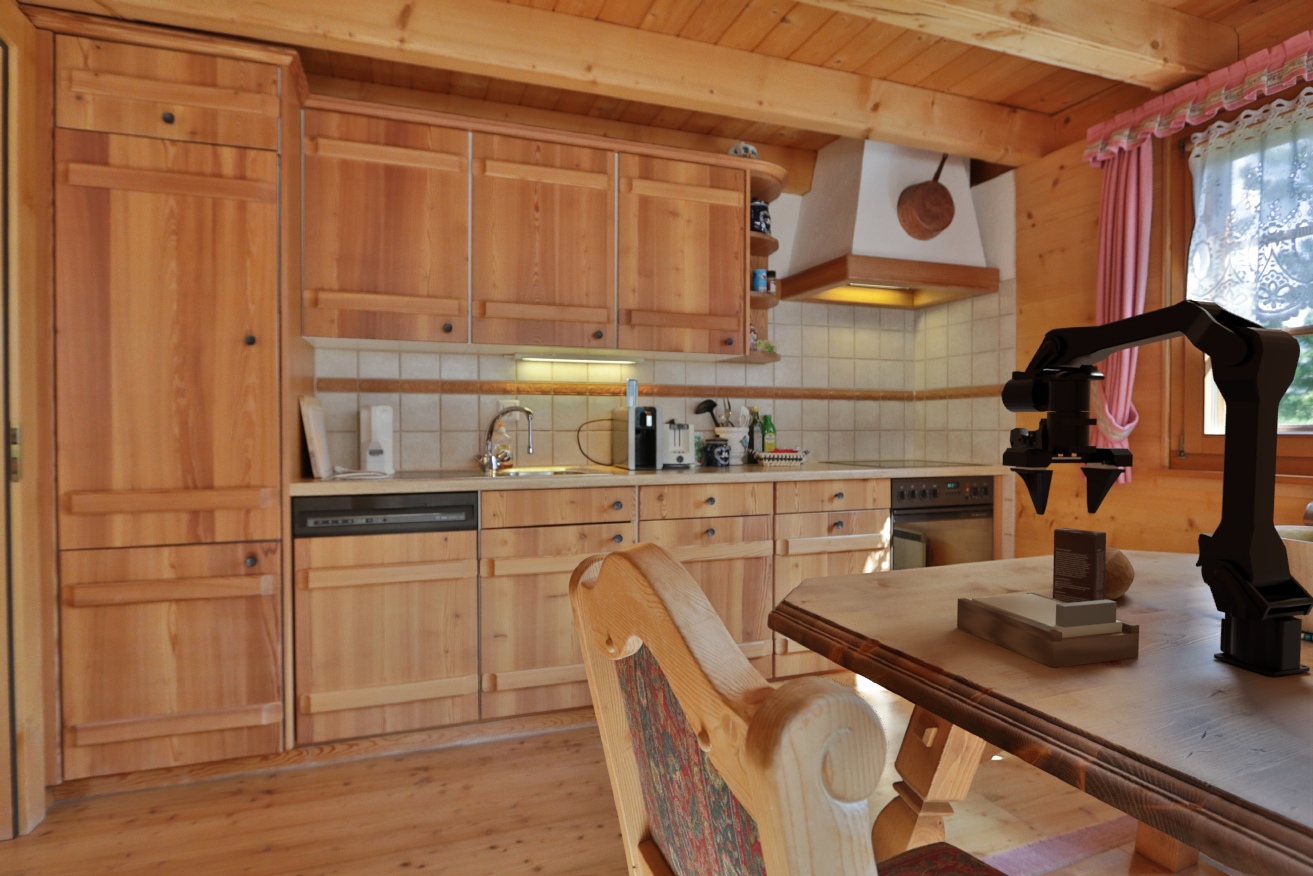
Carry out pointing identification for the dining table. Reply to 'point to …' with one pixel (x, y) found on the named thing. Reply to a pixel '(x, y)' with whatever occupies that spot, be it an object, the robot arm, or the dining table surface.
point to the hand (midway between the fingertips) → (1066, 514)
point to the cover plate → (1059, 613)
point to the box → (1079, 565)
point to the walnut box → (1046, 637)
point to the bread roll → (1117, 573)
